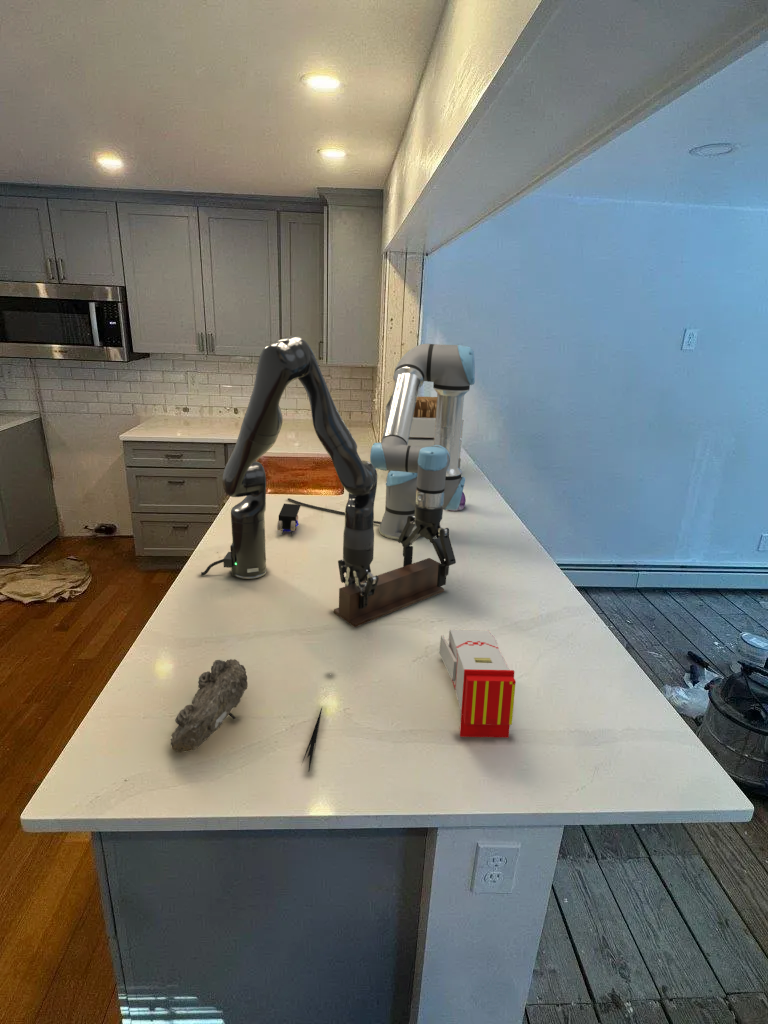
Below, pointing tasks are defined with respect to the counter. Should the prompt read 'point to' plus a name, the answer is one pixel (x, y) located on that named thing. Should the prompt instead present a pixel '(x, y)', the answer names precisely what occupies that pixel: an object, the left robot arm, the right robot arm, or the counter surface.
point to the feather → (313, 740)
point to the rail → (390, 592)
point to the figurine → (461, 503)
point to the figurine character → (288, 518)
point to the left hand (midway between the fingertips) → (356, 603)
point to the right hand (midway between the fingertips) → (423, 576)
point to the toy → (479, 682)
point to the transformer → (424, 423)
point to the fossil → (210, 704)
